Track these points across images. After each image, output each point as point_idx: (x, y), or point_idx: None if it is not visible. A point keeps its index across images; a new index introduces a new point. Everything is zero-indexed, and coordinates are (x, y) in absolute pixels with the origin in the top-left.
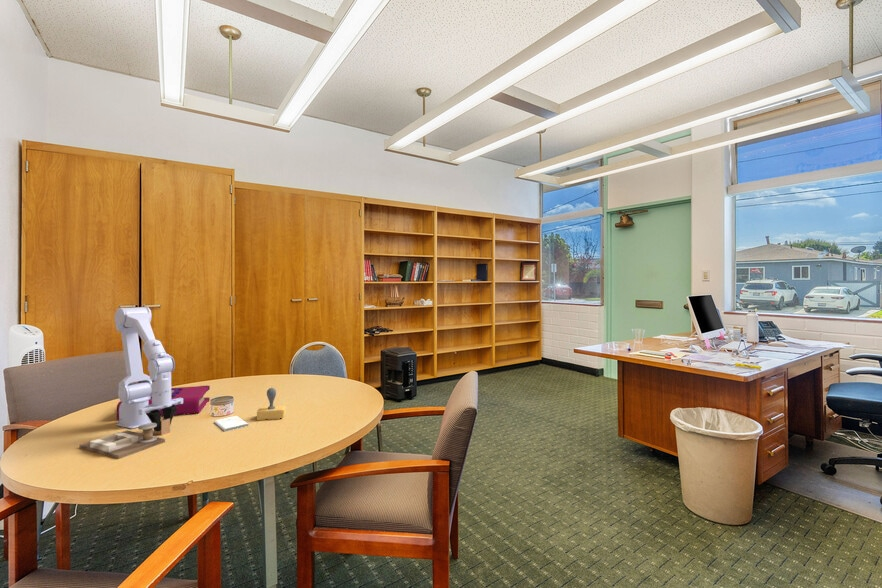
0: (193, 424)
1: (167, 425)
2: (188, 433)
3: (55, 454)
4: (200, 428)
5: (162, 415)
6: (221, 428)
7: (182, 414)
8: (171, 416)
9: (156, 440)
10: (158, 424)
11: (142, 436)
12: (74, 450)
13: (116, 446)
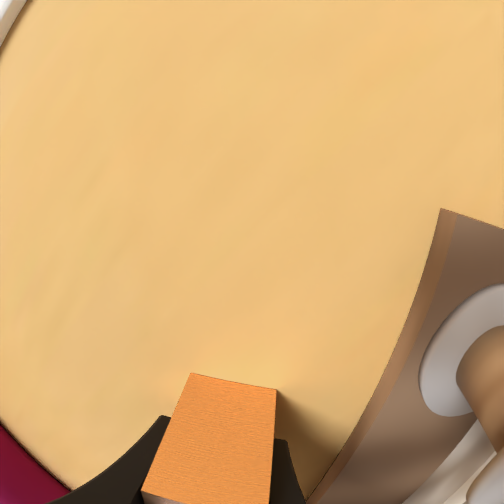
0: (11, 304)
1: (198, 437)
2: (152, 152)
3: None
4: (30, 162)
5: None
6: (24, 1)
7: (13, 439)
8: (108, 496)
9: (491, 273)
10: (291, 495)
11: (389, 452)
12: None
13: None
